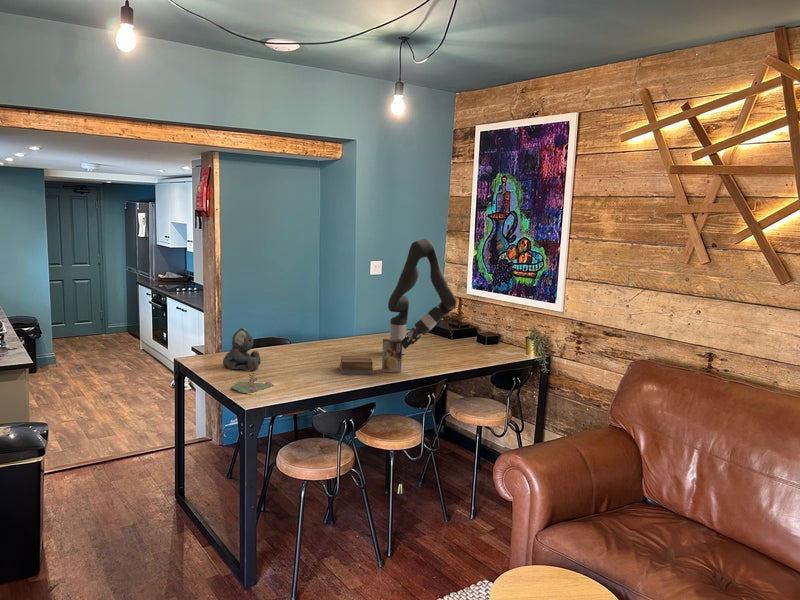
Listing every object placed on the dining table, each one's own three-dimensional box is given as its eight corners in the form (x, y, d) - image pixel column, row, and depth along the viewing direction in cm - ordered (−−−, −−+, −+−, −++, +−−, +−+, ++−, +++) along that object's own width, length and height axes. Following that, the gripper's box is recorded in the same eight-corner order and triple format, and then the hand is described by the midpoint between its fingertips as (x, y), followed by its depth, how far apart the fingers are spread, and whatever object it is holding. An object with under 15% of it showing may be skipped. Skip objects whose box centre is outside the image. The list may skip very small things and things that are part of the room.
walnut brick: (340, 363, 306) (341, 356, 305) (370, 363, 308) (370, 356, 308) (341, 369, 294) (342, 361, 294) (372, 370, 296) (372, 362, 296)
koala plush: (258, 371, 291) (258, 332, 288) (219, 371, 288) (220, 331, 285) (261, 362, 308) (261, 325, 305) (225, 362, 305) (225, 324, 302)
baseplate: (339, 366, 307) (339, 363, 307) (370, 367, 309) (370, 363, 309) (340, 374, 293) (341, 370, 293) (373, 374, 296) (373, 370, 295)
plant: (274, 378, 283) (274, 360, 281) (296, 389, 267) (296, 370, 266) (223, 386, 267) (223, 366, 266) (243, 398, 251) (243, 377, 250)
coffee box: (398, 368, 309) (400, 338, 307) (401, 372, 303) (402, 341, 300) (381, 368, 307) (382, 338, 305) (383, 372, 301) (384, 341, 299)
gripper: (418, 316, 310) (395, 337, 310) (423, 321, 296) (399, 343, 296) (427, 326, 312) (405, 347, 312) (433, 332, 298) (409, 354, 298)
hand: (402, 345), depth 304 cm, fingers open, 8 cm apart
